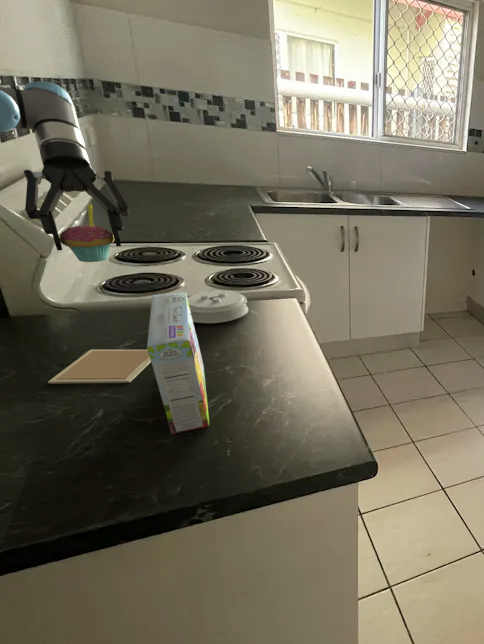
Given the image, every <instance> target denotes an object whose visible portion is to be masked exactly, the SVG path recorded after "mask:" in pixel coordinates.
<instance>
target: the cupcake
mask: <svg viewBox="0 0 484 644" xmlns="http://www.w3.org/2000/svg"><path fill="white" fill-rule="evenodd" d="M93 210H94V209H93V204H92V200H90V201H89V204H87V211H88V224H87V223H85V224H81V225H74V226H70V227H67V228H66V229H65V230H64V231H62V232H61V233H60V234H59V238H60V242H61V245H64V246H66V247H68V248H69V249H70V251H71V252H72V253H73V254H74V256H75V257H76V258H77V260H78V261H79V262H83V263H96V262H97V263H98V262H103V261H105V260H107V259H108V258H109V253H110V247H111V245H112V244H113V243H114V242H115V239H114V236H113V232H112V231H111V230H109V229H106V227H103V226H99V225H95V224H94V211H93Z"/></svg>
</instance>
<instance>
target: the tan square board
mask: <svg viewBox="0 0 484 644" xmlns="http://www.w3.org/2000/svg"><path fill="white" fill-rule="evenodd" d="M150 364H152V363H151V359H150V356H149V353H148V350H147V349H90V350H88V351H87V352H86V353H84V354H83V355H81V356H80V357H78V359H76V360H74V362H72V363H71V364H69V365H68V366H66V367H65V368H64V369H63V370H62V371H60V372H59V373H57V374H56V375H55V376H54V377H52V378H51V379H50V380H48V381H47V384H48V385H49V384H50V385H51V384H57V385H58V384H130V383H131V382H132V381H133V380H134V379H135V378H137V377H138V376H139V375H140V373H141V372H143V371H144V370H145V369H146V368H147V367H148V366H149V365H150Z"/></svg>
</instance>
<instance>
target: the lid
mask: <svg viewBox="0 0 484 644" xmlns="http://www.w3.org/2000/svg"><path fill="white" fill-rule="evenodd" d="M187 298H188V303H189V307H190V311H191V316H192V320H193V323H197V324H218V323H225V322H231V321H234V320H237V319H240V318H242V317H243V316H245V315H247V314H248V312H249V307H248V306H247V302H248V299H247V297H246V296H245V295H243V294H241V293H239V292H237V291H234V290H220V289H219V290H207V291H202V292H198V293H195V294H192V295H190V296H189V297H187Z"/></svg>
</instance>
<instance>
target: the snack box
mask: <svg viewBox="0 0 484 644" xmlns="http://www.w3.org/2000/svg"><path fill="white" fill-rule="evenodd" d="M188 298H189V297H188V293H187V292H183V291H182V292H173V293H164V294H153V295H152V296H151V303H150V311H149V323H148V334H147V343H146V350H148V353H149V356H150V359H151V363H150V364H151V366H152V371H153V373H154V377H155V380H156V384H157V386H158V387H157V388H158V390H159V393H160V394H159V395H160V398H161V402H162V405H163V408H164V411H165V416H166V418H167V423H168V427H169V430H170V435H171V436H172V435H176V434H181V433H186V432H190V431H193V430H198V429H204V428H206V427H207V428H208V427H210V417H209V415H210V414H209V407H208V395H207V386H206V377H205V367H204V361H203V358H202V352H201V348H200V344H199V340H198V335H197V333H196V329H195V324H194V322H193V320H192V316H191V311H190V307H189V303H188Z"/></svg>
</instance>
